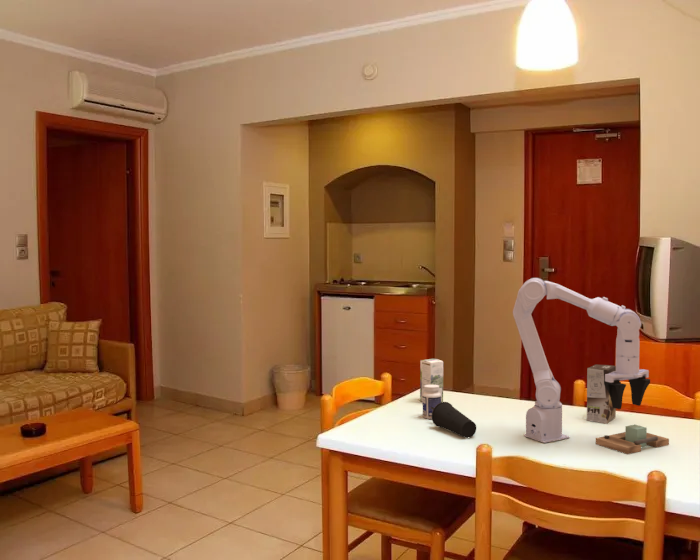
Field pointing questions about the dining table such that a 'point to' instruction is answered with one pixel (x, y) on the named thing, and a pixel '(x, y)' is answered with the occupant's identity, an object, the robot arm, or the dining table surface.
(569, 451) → the dining table surface
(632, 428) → the green block
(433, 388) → the pill bottle
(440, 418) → the drinking cup
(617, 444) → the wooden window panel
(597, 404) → the coffee box
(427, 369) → the syrup box
